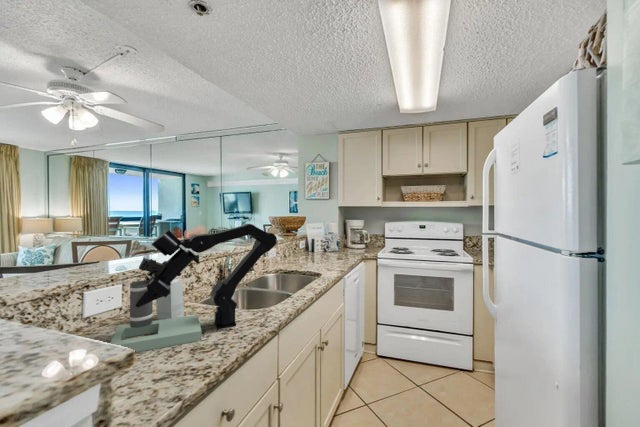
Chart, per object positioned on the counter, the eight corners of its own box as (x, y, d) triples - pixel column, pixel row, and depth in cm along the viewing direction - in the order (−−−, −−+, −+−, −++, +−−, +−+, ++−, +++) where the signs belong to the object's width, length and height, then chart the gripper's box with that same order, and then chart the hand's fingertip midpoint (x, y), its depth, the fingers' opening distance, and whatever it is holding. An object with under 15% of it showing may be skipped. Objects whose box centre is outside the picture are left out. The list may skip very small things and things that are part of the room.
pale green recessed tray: (197, 322, 104) (197, 314, 104) (201, 340, 90) (201, 330, 90) (117, 335, 93) (118, 325, 93) (108, 357, 79) (108, 346, 79)
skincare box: (184, 317, 109) (184, 279, 109) (170, 323, 104) (170, 282, 104) (168, 314, 113) (169, 276, 113) (154, 319, 107) (155, 280, 107)
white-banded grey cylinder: (157, 321, 92) (157, 280, 92) (141, 328, 86) (141, 285, 86) (141, 319, 93) (141, 279, 93) (124, 326, 87) (124, 284, 87)
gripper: (154, 246, 99) (115, 281, 93) (158, 252, 84) (111, 295, 78) (179, 266, 104) (143, 301, 98) (187, 276, 88) (145, 318, 82)
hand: (136, 303), depth 89 cm, fingers closed on white-banded grey cylinder, 6 cm apart
